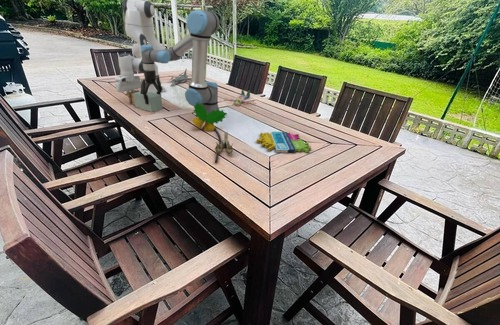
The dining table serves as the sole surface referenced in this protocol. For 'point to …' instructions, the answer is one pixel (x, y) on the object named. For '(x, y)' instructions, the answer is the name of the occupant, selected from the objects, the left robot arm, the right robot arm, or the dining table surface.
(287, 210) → the dining table surface
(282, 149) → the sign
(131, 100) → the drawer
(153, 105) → the grey-green rectangular block
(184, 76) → the airplane
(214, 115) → the ornament
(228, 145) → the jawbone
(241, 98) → the toy
